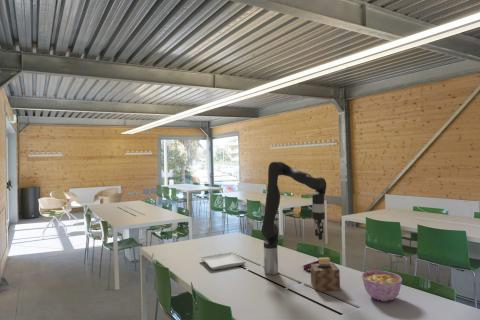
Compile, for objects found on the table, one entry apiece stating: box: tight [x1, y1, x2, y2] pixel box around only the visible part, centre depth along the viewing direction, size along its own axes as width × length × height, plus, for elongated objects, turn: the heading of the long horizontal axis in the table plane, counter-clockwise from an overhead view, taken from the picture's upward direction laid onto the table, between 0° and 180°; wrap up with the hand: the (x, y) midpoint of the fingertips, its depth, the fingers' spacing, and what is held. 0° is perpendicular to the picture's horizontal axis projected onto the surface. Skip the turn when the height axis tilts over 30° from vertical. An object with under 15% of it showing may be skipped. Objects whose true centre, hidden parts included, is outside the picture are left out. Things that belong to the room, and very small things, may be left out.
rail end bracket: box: [318, 256, 331, 268], centre depth 197 cm, size 6×3×10 cm, turn 88°
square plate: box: [199, 252, 247, 271], centre depth 248 cm, size 27×27×4 cm
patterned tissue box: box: [310, 262, 341, 292], centre depth 197 cm, size 14×12×12 cm
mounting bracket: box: [302, 259, 319, 269], centre depth 225 cm, size 9×8×18 cm
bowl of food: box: [361, 270, 403, 302], centre depth 179 cm, size 20×20×12 cm
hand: (318, 237), depth 200 cm, fingers open, 8 cm apart
